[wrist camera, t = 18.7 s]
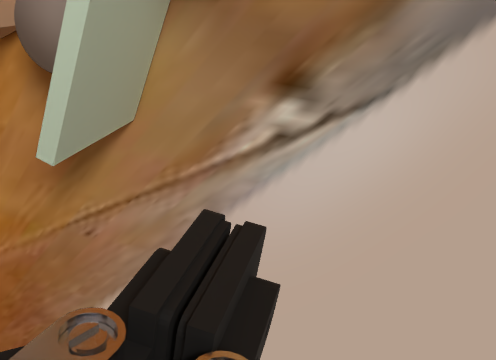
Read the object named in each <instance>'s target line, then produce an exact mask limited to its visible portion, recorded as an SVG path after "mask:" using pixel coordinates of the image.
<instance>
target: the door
mask: <svg viewBox="0 0 496 360" xmlns="http://www.w3.org/2000/svg"><path fill="white" fill-rule="evenodd" d="M169 3H170V0H67V2H66V7H65V12H64V17H63V22H62V27H61V32H60V37H59V42H58V47H57V52H56V57H55V63H54V68H53V73H52V78H51V83H50V88H49V93H48V98H47V103H46V108H45V113H44V118H43V123H42V128H41V133H40V139H39V144H38V149H37V154H36V158H38V159H40V160H42V161H44V162H46V163H48V164H50V165H52V166H54V165H56V164H58V163H60V162H61V161H63V160H65V159H67V158H68V157H70V156H72V155H74V154H75V153H77V152H79V151H81V150H82V149H84V148H86V147H88V146H89V145H91V144H93V143H95V142H96V141H98V140H100V139H102V138H103V137H105V136H107V135H109V134H110V133H112V132H114V131H116V130H117V129H119V128H121V127H123V126H124V125H126V124H128V123H129V122H131V121H133V120H134V118H135V114H136V111H137V108H138V104H139V101H140V98H141V95H142V91H143V88H144V85H145V81H146V78H147V75H148V72H149V68H150V65H151V62H152V58H153V55H154V52H155V49H156V45H157V42H158V39H159V35H160V32H161V29H162V26H163V22H164V19H165V16H166V12H167V9H168V6H169Z"/></svg>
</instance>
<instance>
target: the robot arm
mask: <svg viewBox="0 0 496 360" xmlns="http://www.w3.org/2000/svg"><path fill="white" fill-rule="evenodd" d="M230 229H231V223H230V222H227V221H225V215H223V214H220V213H216V212H213V211H209V210H206V209H204V210H203V211H202V212H201V213H200V215H199V216H198V217H197V219H196V220H195V221H194V222H193V224H192V225H191V226H190V228H189V229H188V230H187V231H186V233H185V234H184V235H183V237H182V238H181V239H180V241H179V242H178V243H177V244H176V246H175V247H174V248H173V250H172V251H169V250H166V249H163V248H159V249H157V250H156V251H155V252H154V253H153V255H152V256H151V257H150V258H149V260H148V261H147V262H146V263H145V264H144V266H143V267H142V268H141V269H140V270H139V272H138V273H137V274H136V275H135V276H134V278H133V279H132V280H131V281H130V282H129V284H128V285H127V286H126V287H125V288H124V290H123V291H122V292H121V293H120V294H119V296H118V297H117V298H116V299H115V300H114V302H113V303H112V304H111V305H110V306H109V308H108V309H107V310H106V309H103V308H93V307H90V308H82V309H78V310H75V311H72V312H69V313H67V314H66V315H64V316H63V317H61V318H59V319H58V320H57V321H56V322H55V323H53V324H52V325H51V326H50V327H48V328H47V329H46V330H45V331H43V332H42V333H41V334H40V335H38V336H37V337H36V338H35V339H33V340H32V341H31V342H30V343H29V344H27V345H26V346H23V347H19V348H15V349H11V350H7V351H3V352H0V360H260V357H261V354H262V351H263V347H264V345H265V341H266V338H267V335H268V332H269V328H270V325H271V321H272V317H273V314H274V310H275V306H276V302H277V298H278V294H279V290H280V284H277V283H273V282H270V281H267V280H264V279H260V278H257V277H256V276H257V271H258V266H259V262H260V257H261V253H262V248H263V243H264V239H265V234H266V227H265V226H262V225H258V224H255V223H251V222H248V221H246V222H245V223H244V225H243V226H241V225H238V224H237V225H235V227H234V229H233V230H232V232H231V234H230Z"/></svg>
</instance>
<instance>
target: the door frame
mask: <svg viewBox="0 0 496 360" xmlns="http://www.w3.org/2000/svg"><path fill="white" fill-rule="evenodd" d="M15 2H16V0H0V38H3V37H4V36H6V35H8V34H10V33H12V32H14V31H16V27H15V20H14V8H15Z"/></svg>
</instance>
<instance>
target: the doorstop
mask: <svg viewBox="0 0 496 360" xmlns="http://www.w3.org/2000/svg"><path fill="white" fill-rule="evenodd" d="M66 2H67V0H16V2H15V8H14V20H15V27H16V31H17V34H18V37H19V39H20V42H21V44H22V46H23V47H24V49H25V51H26V52H27V53H28V55H29V56H30V57H31V58H32V60H33V61H34V62H36V63H37V64H38V65H39V66H40V67H42V68H43V69H45V70H46V71H48V72H51V73H53V68H54V63H55V57H56V52H57V47H58V42H59V37H60V32H61V27H62V22H63V17H64V12H65V7H66Z"/></svg>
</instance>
